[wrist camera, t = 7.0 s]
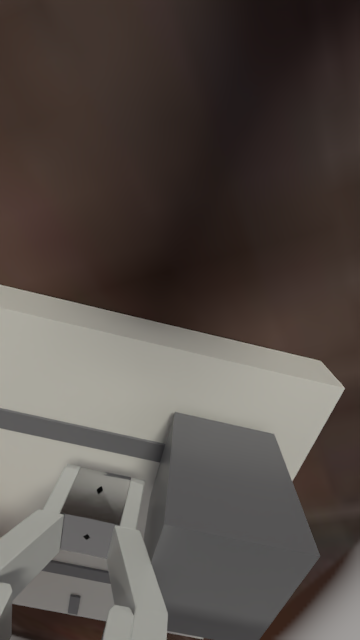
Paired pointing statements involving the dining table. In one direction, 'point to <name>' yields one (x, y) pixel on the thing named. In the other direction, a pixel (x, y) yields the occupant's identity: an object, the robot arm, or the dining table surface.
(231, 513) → the block
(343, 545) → the dining table surface
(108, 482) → the robot arm
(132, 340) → the fader panel
